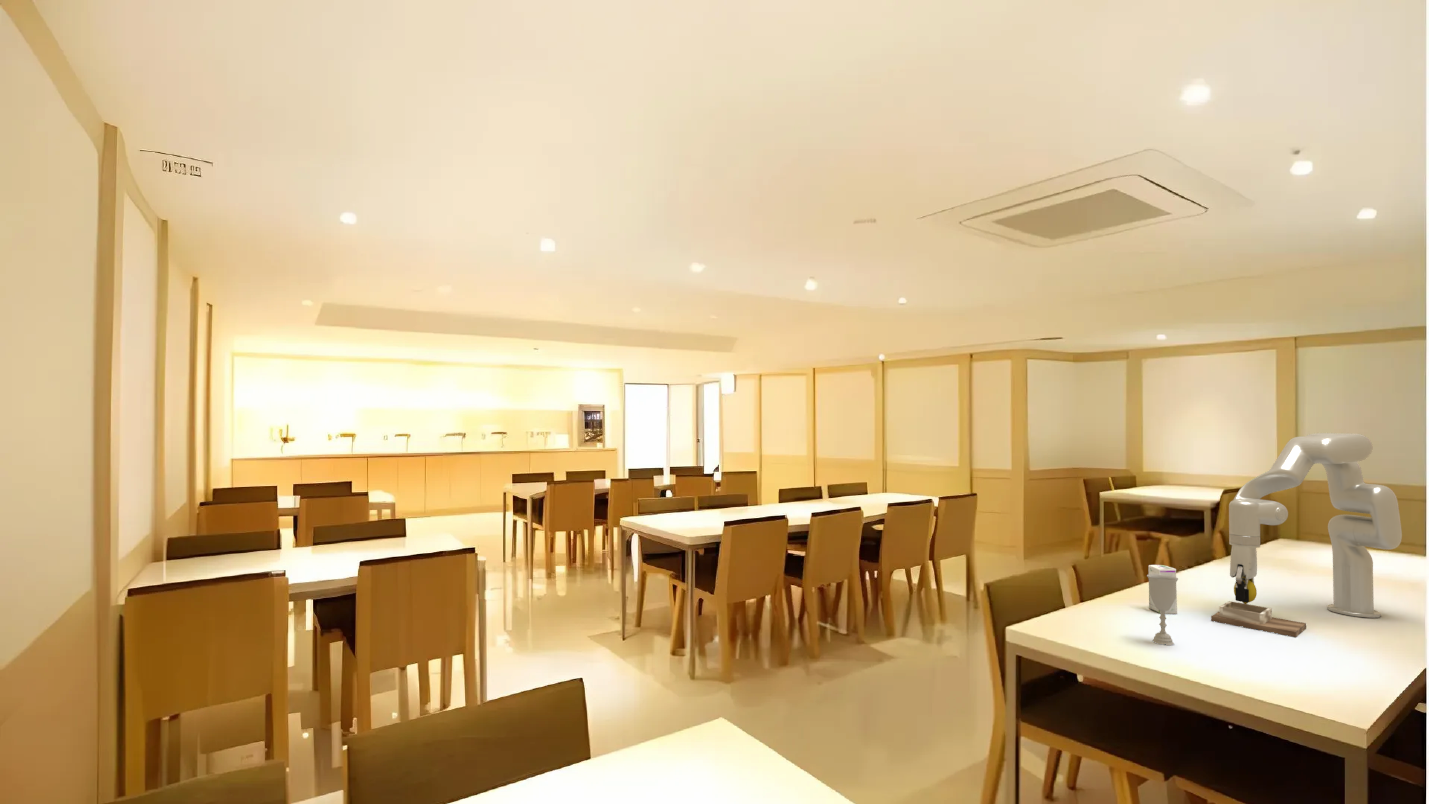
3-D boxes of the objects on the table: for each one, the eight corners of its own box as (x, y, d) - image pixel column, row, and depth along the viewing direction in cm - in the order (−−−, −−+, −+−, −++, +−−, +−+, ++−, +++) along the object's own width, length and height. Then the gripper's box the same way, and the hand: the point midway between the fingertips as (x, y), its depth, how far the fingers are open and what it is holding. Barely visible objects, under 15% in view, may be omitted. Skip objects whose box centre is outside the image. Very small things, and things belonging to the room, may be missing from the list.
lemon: (1260, 607, 203) (1260, 580, 203) (1240, 605, 204) (1239, 579, 204) (1250, 602, 208) (1250, 576, 208) (1230, 601, 209) (1229, 575, 210)
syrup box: (1178, 614, 214) (1177, 568, 214) (1159, 613, 214) (1158, 568, 215) (1166, 609, 220) (1165, 564, 220) (1148, 609, 220) (1147, 564, 220)
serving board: (1224, 613, 216) (1224, 599, 216) (1306, 628, 200) (1305, 613, 200) (1211, 620, 207) (1211, 606, 207) (1295, 637, 191) (1295, 621, 192)
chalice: (1151, 644, 184) (1150, 578, 184) (1144, 637, 190) (1143, 573, 191) (1182, 647, 181) (1181, 580, 182) (1175, 640, 188) (1174, 575, 188)
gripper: (1237, 536, 215) (1237, 593, 214) (1221, 541, 204) (1221, 601, 204) (1267, 540, 209) (1267, 598, 209) (1252, 545, 198) (1253, 607, 198)
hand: (1245, 599), depth 206 cm, fingers closed on lemon, 5 cm apart
